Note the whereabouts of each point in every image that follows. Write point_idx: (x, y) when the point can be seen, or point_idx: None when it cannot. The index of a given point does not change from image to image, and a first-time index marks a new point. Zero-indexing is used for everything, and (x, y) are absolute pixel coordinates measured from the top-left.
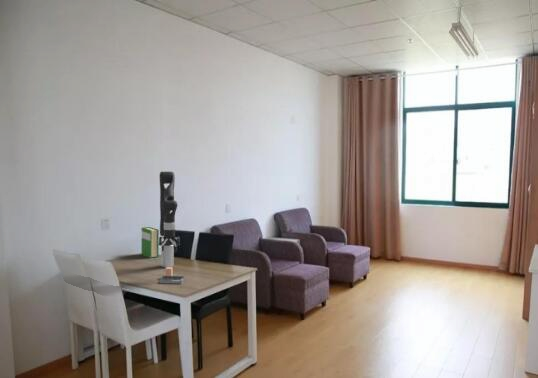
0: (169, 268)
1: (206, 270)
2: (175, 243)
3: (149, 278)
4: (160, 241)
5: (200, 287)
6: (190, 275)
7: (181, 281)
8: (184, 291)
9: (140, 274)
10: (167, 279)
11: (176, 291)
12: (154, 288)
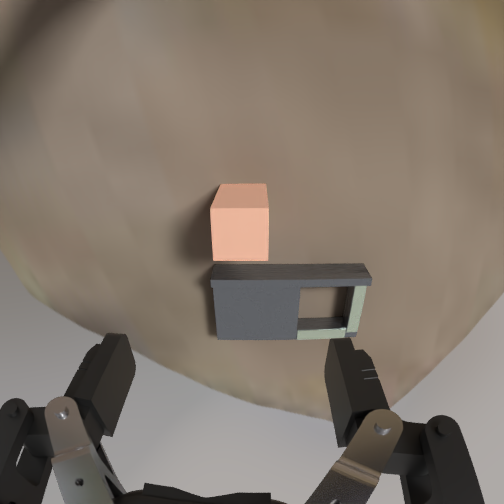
0: (248, 252)
1: (471, 20)
2: (368, 470)
3: (115, 236)
4: (39, 500)
5: (433, 355)
6: (395, 137)
7: (353, 334)
8: None
9: (31, 156)
10: (262, 320)
11: None
12: (223, 389)
